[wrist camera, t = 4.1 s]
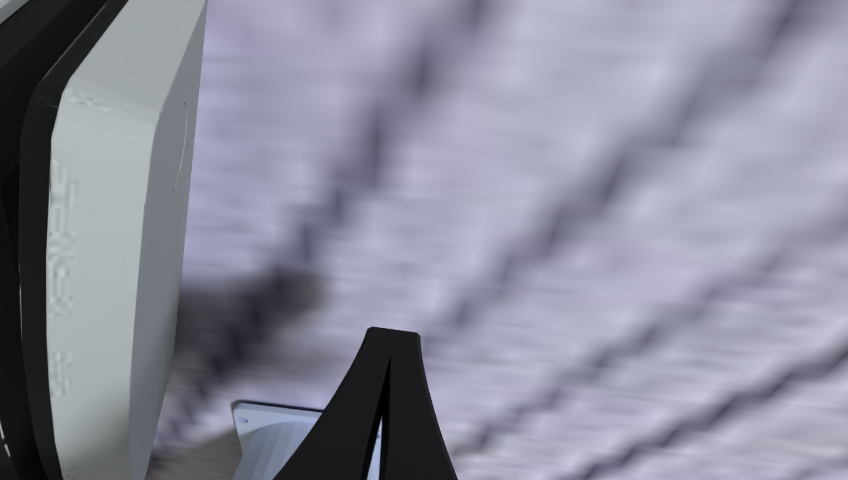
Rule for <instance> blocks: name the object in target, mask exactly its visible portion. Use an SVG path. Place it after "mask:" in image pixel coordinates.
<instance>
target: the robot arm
mask: <svg viewBox="0 0 848 480" xmlns="http://www.w3.org/2000/svg"><path fill="white" fill-rule="evenodd" d="M233 416H234V420H235V424H236V429H237V433H238V437H239V441H240V445H241V450H242V454H243V455H242V458H241V460H240V462H239V465H238V467H237V469H236V472H235V474H234V477H233V479H232V480H378V477H379V480H458V478H457V476H456V473H455V471H454V468H453V466H452V463H451V460H450V457H449V455H448V452H447V449H446V446H445V443H444V440H443V437H442V434H441V431H440V428H439V425H438V421H437V418H436V415H435V411H434V407H433V404H432V400H431V396H430V393H429V389H428V384H427V380H426V375H425V370H424V365H423V359H422V352H421V342H420V335H419V334H418V333H416V332H409V331H401V330H394V329H386V328H379V327H370V328H368V329H367V332H366V335H365V338H364V340H363V342H362V345H361V347H360V349H359V351H358V353H357V355H356V357H355V359H354V361H353V363H352V365H351V367H350V369H349V370H348V372H347V374H346V376H345V377H344V379H343V381H342V382H341V384H340V386H339V387H338V389H337V391H336V392H335V394H334V396H333V397H332V399H331V400H330V402H329V403H328V405H327V406H326V408H325V409H324V411H323V412H322V413H321V412H313V411H305V410H297V409H288V408H280V407H272V406H264V405H255V404H247V403H240V404H237V405H236V406H235V408H234V410H233ZM381 418H382V421H381Z"/></svg>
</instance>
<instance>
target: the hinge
mask: <svg viewBox="0 0 848 480" xmlns="http://www.w3.org/2000/svg"><path fill="white" fill-rule="evenodd" d="M207 2H208V0H0V480H145V477H146V473H147V468H148V464H149V460H150V455H151V451H152V447H153V442H154V438H155V434H156V429H157V425H158V421H159V416H160V412H161V408H162V403H163V399H164V395H165V391H166V386H167V382H168V378H169V373H170V369H171V365H172V360H173V356H174V347H175V336H176V326H177V316H178V305H179V295H180V284H181V274H182V263H183V253H184V242H185V232H186V221H187V211H188V200H189V190H190V180H191V169H192V159H193V148H194V138H195V127H196V117H197V106H198V96H199V85H200V75H201V64H202V54H203V44H204V33H205V23H206V12H207Z"/></svg>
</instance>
